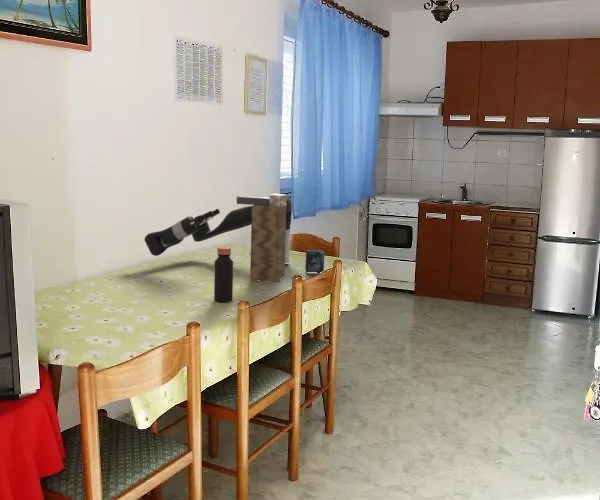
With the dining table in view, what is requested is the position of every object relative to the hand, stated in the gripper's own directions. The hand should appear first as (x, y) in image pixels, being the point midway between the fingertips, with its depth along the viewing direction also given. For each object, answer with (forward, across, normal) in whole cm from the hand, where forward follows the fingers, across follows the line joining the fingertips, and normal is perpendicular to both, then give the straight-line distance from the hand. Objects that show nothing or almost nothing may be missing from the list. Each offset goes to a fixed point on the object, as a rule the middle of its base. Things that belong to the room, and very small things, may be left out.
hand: (215, 211), depth 277 cm
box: (+22, +18, +45) cm, 53 cm away
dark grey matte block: (+19, 0, +6) cm, 20 cm away
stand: (+7, 0, +36) cm, 37 cm away
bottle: (+2, -42, +33) cm, 53 cm away
